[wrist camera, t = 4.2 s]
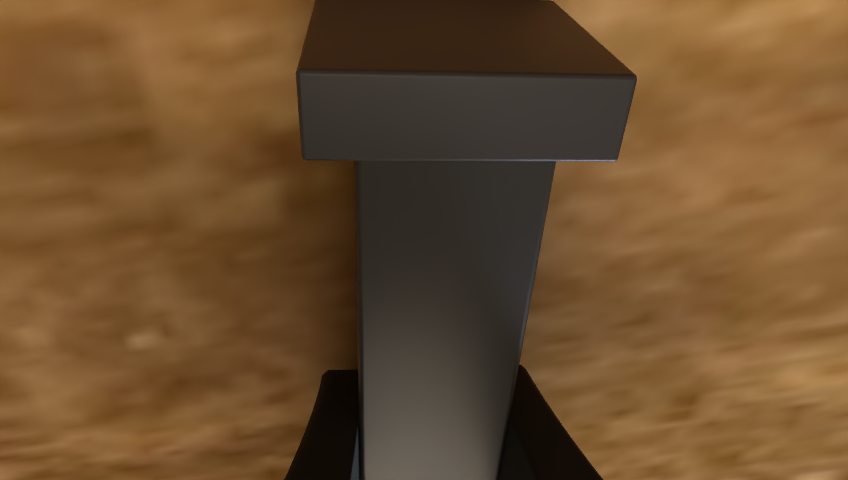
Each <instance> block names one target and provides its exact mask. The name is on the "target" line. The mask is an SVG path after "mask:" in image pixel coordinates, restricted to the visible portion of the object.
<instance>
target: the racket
mask: <svg viewBox="0 0 848 480" xmlns="http://www.w3.org/2000/svg"><path fill="white" fill-rule="evenodd" d="M636 81H637V77H636V75H635V74H634V73H633V72H632V71H630V70H629V69H628V68H627V67H626V66H625V65H624V64H623V63H621V62H620V61H619V60H618V59H617V58H616V57H615V56H614V55H613V54H611V53H610V52H609V51H608V50H607V49H606V48H605V47H604V46H603V45H601V44H600V43H599V42H598V41H597V40H596V39H595V38H594V37H593V36H591V35H590V34H589V33H588V32H587V31H586V30H585V29H584V28H582V27H581V26H580V25H579V24H578V23H577V22H576V21H575V20H574V19H572V18H571V17H570V16H569V15H568V14H567V13H566V12H565V11H564V10H562V9H561V8H560V7H559V6H558V5H557V4H556V3H555V2H553V1H542V0H316V1H315V5H314V8H313V12H312V16H311V19H310V23H309V27H308V30H307V34H306V38H305V42H304V45H303V49H302V53H301V56H300V60H299V64H298V67H297V71H296V82H297V96H298V110H299V125H300V139H301V153H302V157H303V159H304V160H354V172H355V227H356V282H357V338H358V393H359V448H360V480H498V477H499V471H500V466H501V460H502V455H503V449H504V444H505V438H506V433H507V427H508V422H509V416H510V411H511V406H512V400H513V395H514V389H515V384H516V378H517V373H518V367H519V362H520V356H521V351H522V345H523V340H524V334H525V329H526V323H527V318H528V312H529V307H530V301H531V296H532V290H533V285H534V279H535V274H536V268H537V263H538V258H539V252H540V247H541V241H542V236H543V230H544V225H545V219H546V214H547V208H548V203H549V197H550V192H551V186H552V181H553V175H554V170H555V164H556V161H598V162H614V161H616V160H617V159H618V156H619V151H620V147H621V143H622V139H623V135H624V131H625V127H626V123H627V119H628V114H629V110H630V106H631V102H632V98H633V94H634V90H635V86H636Z"/></svg>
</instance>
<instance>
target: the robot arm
mask: <svg viewBox="0 0 848 480" xmlns="http://www.w3.org/2000/svg"><path fill="white" fill-rule="evenodd" d="M284 480H360V448H359V393H358V369H355V370H328V371H327V372H325V373H324V374H323V375H322V379H321V384H320V388H319V392H318V395H317V399H316V402H315V405H314V408H313V411H312V414H311V417H310V420H309V422H308V425H307V428H306V431H305V433H304V436H303V438H302V440H301V443H300V445H299V447H298V450H297V452H296V454H295V457H294V459H293V461H292V464H291V466H290V468H289V471H288V473H287V475H286V477H285V479H284ZM498 480H603V479H602V478H601V476H600V475H599V474H598V473H597V471H596V470H595V469H594V468H593V466H592V465H591V464H590V462H589V461H588V460H587V458H586V457H585V456H584V454H583V453H582V452H581V450H580V449H579V448H578V446H577V445H576V444H575V442H574V441H573V440H572V438H571V437H570V435H569V434H568V433H567V431H566V430H565V428H564V427H563V426H562V424H561V423H560V421H559V420H558V418H557V417H556V416H555V414H554V413H553V411H552V410H551V408H550V407H549V405H548V404H547V402H546V401H545V399H544V398H543V396H542V395H541V393H540V391H539V390H538V388H537V387H536V385H535V384H534V382H533V380H532V379H531V377H530V376H529V374H528V372H527V371H526V369H525V368H524V367H523V366H522V365H519V367H518V373H517V378H516V384H515V389H514V395H513V400H512V406H511V411H510V416H509V422H508V427H507V433H506V438H505V444H504V449H503V455H502V460H501V466H500V471H499V477H498Z"/></svg>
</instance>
